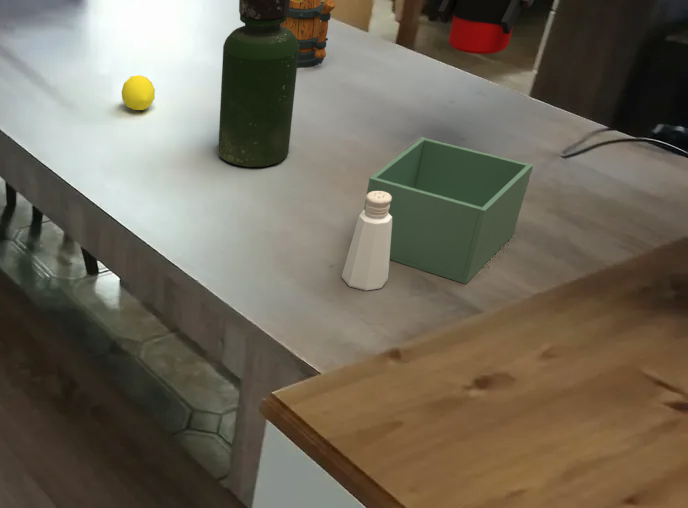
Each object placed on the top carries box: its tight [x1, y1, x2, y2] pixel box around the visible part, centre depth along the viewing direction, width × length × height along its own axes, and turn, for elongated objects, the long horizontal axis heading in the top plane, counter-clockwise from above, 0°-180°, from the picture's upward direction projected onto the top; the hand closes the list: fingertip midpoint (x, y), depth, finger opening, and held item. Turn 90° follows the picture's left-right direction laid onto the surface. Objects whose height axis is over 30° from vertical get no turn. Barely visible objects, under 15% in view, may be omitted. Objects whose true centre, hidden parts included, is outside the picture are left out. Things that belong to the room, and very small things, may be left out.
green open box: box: [363, 136, 534, 285], centre depth 114 cm, size 14×14×10 cm
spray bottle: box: [217, 0, 299, 168], centre depth 131 cm, size 10×10×25 cm
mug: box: [280, 0, 336, 69], centre depth 163 cm, size 13×10×12 cm
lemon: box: [121, 74, 156, 111], centre depth 152 cm, size 7×5×5 cm
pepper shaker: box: [341, 191, 392, 292], centre depth 108 cm, size 5×5×11 cm
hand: (473, 22), depth 118 cm, fingers closed on soda can, 7 cm apart
